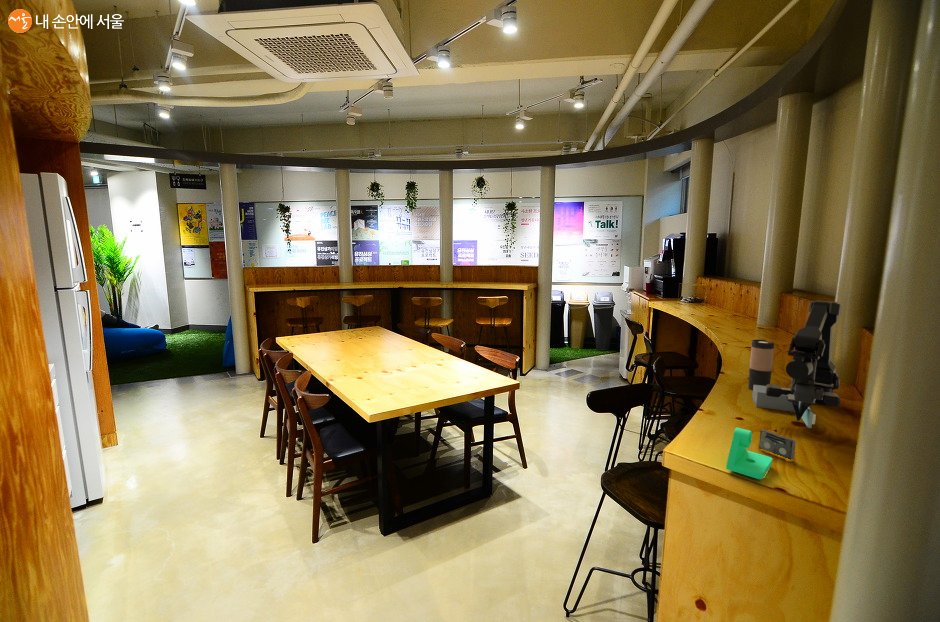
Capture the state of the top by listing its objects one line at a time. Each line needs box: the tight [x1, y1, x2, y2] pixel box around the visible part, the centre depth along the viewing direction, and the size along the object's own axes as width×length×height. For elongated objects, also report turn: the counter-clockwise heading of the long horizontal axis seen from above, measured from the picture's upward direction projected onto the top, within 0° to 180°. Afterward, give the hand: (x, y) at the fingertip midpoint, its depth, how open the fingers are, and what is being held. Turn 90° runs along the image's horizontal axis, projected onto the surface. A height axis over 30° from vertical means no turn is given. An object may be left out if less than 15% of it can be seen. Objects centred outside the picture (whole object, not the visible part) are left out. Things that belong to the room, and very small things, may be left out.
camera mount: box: [725, 427, 773, 480], centre depth 112 cm, size 12×8×10 cm, turn 135°
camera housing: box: [751, 385, 795, 413], centre depth 159 cm, size 14×10×6 cm
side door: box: [799, 401, 817, 429], centre depth 145 cm, size 16×2×5 cm, turn 154°
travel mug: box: [747, 339, 775, 391], centre depth 177 cm, size 8×8×20 cm
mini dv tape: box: [758, 429, 796, 460], centre depth 120 cm, size 8×2×6 cm, turn 26°
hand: (798, 420), depth 141 cm, fingers closed
